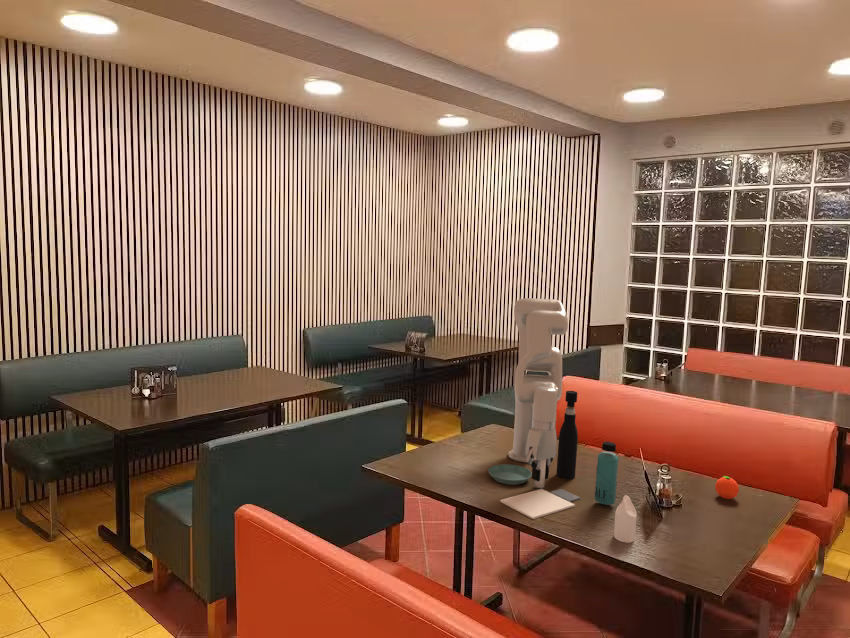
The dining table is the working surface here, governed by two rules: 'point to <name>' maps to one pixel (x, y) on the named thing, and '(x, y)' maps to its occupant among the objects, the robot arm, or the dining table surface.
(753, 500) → the dining table surface
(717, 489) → the clementine
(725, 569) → the dining table surface
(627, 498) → the white tapered cylinder
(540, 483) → the marker
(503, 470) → the saucer
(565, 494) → the plate
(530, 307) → the robot arm
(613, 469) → the beverage bottle
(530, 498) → the pad
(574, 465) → the black bottle
